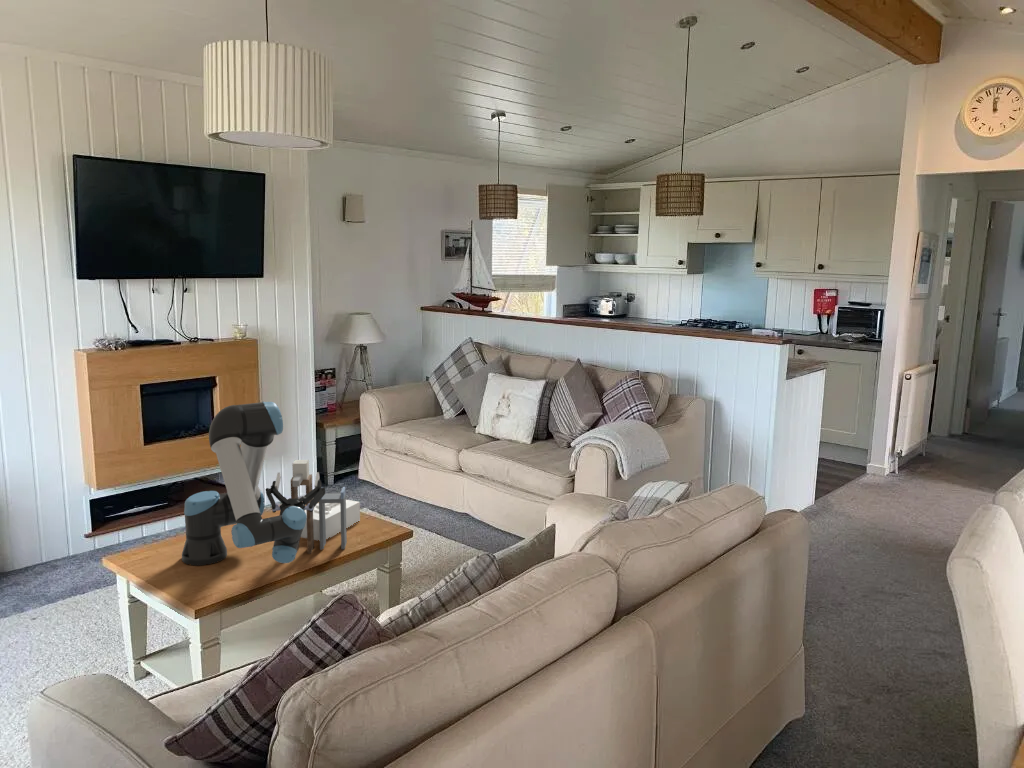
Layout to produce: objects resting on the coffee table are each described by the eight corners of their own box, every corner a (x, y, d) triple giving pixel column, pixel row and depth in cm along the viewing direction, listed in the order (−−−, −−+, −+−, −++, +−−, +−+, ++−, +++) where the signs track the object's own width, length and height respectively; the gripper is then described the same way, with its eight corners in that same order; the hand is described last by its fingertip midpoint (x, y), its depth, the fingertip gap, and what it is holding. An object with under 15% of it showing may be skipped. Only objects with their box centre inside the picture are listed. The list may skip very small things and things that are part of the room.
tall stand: (292, 553, 282) (290, 480, 277) (296, 546, 289) (293, 474, 284) (311, 553, 282) (308, 479, 278) (313, 546, 289) (311, 474, 285)
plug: (288, 486, 269) (287, 470, 268) (295, 475, 283) (294, 460, 282) (303, 486, 270) (302, 469, 269) (309, 475, 283) (308, 459, 282)
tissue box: (292, 536, 300) (291, 509, 298) (331, 516, 323) (330, 491, 321) (323, 542, 295) (322, 514, 293) (360, 521, 317) (359, 496, 316)
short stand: (320, 549, 286) (318, 492, 283) (322, 542, 293) (321, 487, 289) (344, 549, 287) (343, 492, 283) (346, 542, 294) (345, 486, 290)
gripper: (253, 528, 260) (264, 482, 276) (328, 527, 262) (335, 481, 279) (250, 514, 255) (261, 467, 271) (326, 513, 257) (333, 467, 274)
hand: (298, 474), depth 275 cm, fingers open, 13 cm apart
